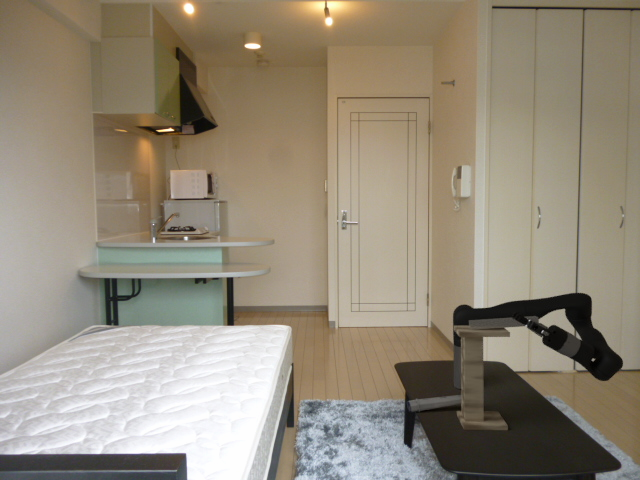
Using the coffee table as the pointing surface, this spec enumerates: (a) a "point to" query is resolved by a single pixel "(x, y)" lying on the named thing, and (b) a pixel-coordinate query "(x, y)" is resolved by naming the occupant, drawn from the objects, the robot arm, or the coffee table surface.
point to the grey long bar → (498, 323)
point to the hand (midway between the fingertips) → (514, 315)
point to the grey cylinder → (433, 403)
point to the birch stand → (476, 380)
